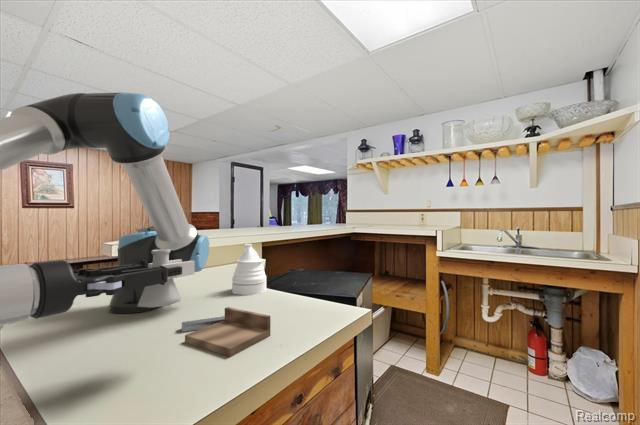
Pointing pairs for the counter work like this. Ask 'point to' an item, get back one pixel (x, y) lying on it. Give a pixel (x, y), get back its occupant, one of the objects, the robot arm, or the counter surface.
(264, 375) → the counter surface
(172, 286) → the flask
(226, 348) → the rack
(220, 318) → the grey rectangular bar
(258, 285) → the honey pot
